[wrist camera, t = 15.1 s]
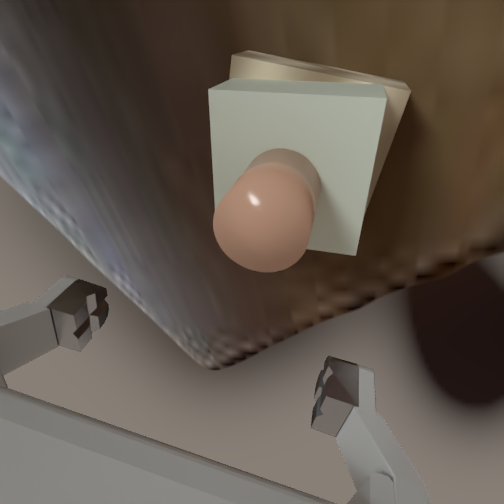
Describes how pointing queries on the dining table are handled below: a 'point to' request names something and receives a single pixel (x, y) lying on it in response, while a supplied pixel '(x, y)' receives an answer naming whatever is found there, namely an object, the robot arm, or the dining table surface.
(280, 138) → the tower top block
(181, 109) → the dining table surface
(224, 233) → the terracotta cylinder
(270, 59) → the tower base block
